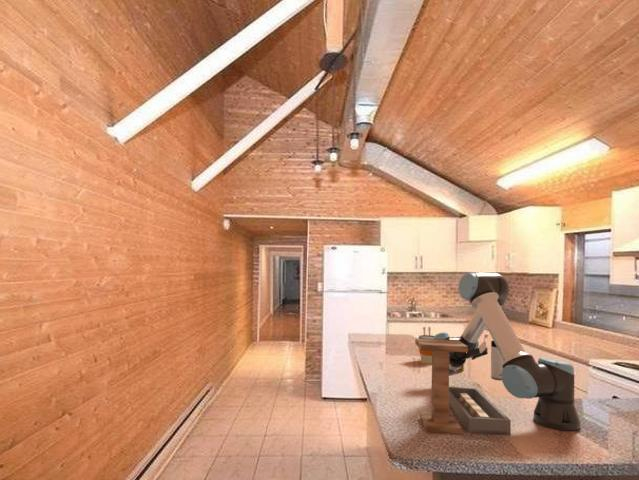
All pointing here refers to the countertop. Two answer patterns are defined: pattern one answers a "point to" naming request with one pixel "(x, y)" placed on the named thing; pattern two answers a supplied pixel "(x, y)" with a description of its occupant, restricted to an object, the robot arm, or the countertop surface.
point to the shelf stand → (440, 385)
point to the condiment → (461, 369)
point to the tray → (490, 425)
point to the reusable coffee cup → (426, 355)
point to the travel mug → (496, 362)
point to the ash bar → (472, 406)
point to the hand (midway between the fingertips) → (468, 344)
